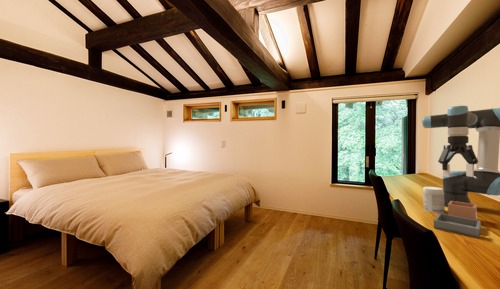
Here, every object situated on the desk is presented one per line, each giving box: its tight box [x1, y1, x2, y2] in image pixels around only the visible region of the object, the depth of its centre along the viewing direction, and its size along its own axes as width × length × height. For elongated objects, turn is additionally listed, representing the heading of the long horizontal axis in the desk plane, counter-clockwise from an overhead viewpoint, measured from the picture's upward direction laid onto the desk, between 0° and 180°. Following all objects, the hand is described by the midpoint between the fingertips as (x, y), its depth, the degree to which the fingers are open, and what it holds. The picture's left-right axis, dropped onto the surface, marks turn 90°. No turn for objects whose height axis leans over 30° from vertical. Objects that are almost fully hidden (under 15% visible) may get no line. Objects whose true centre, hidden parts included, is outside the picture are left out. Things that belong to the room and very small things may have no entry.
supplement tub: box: [422, 186, 446, 214], centre depth 124 cm, size 10×10×15 cm
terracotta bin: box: [447, 201, 478, 220], centre depth 109 cm, size 10×10×9 cm
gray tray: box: [433, 213, 482, 239], centre depth 100 cm, size 15×15×4 cm
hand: (458, 176), depth 105 cm, fingers open, 13 cm apart
